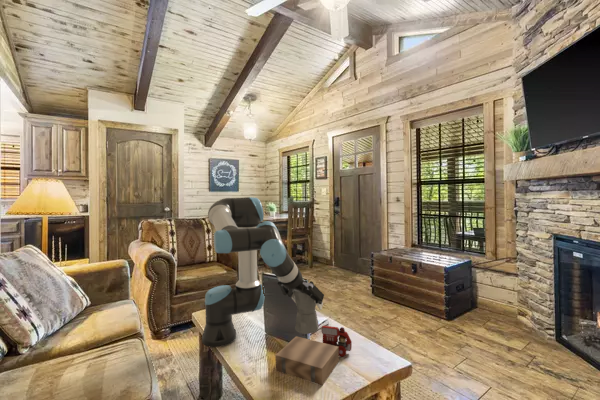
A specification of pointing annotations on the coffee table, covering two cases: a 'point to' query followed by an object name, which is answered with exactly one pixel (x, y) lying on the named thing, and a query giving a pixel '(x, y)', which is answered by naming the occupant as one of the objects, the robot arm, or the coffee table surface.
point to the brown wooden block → (307, 360)
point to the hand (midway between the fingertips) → (310, 304)
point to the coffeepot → (305, 313)
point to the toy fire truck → (332, 338)
